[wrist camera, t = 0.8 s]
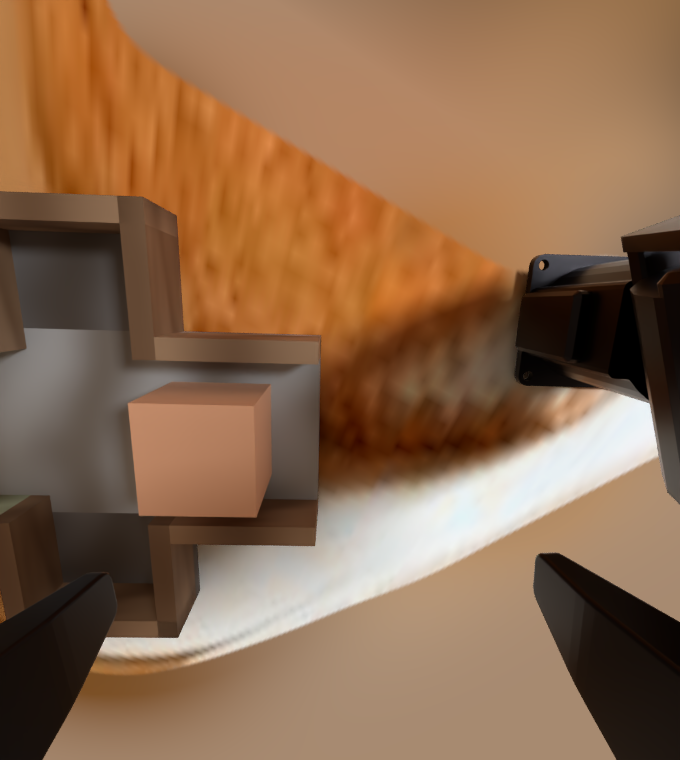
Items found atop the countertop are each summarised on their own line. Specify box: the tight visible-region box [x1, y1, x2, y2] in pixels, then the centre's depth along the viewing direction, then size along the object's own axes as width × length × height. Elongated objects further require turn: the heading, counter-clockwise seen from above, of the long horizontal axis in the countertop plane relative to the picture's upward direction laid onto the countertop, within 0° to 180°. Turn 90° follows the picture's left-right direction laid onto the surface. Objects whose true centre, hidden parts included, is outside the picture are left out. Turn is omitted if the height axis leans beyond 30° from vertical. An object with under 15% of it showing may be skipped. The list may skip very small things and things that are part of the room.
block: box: [128, 382, 272, 517], centre depth 17 cm, size 5×5×4 cm
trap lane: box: [0, 191, 321, 638], centre depth 18 cm, size 23×21×3 cm
